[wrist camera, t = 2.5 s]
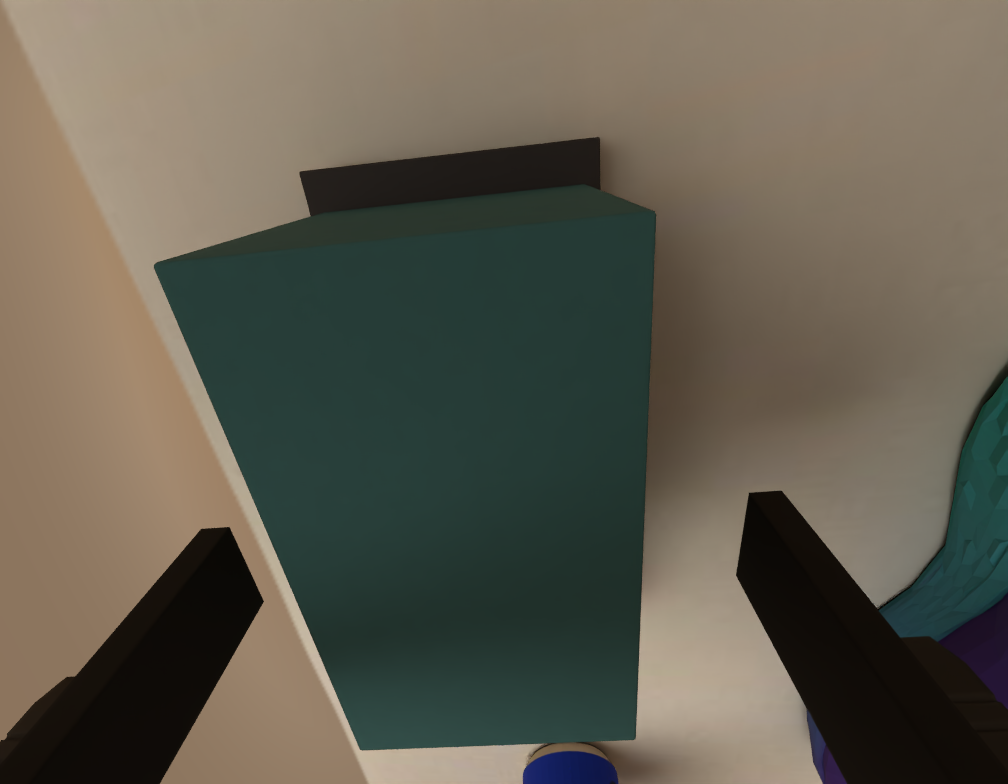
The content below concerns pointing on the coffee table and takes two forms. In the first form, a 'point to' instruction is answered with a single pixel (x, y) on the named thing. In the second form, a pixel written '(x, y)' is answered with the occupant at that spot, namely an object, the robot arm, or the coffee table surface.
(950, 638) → the sneaker
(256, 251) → the teal stepped block
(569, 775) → the beverage can
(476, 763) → the coffee table surface
